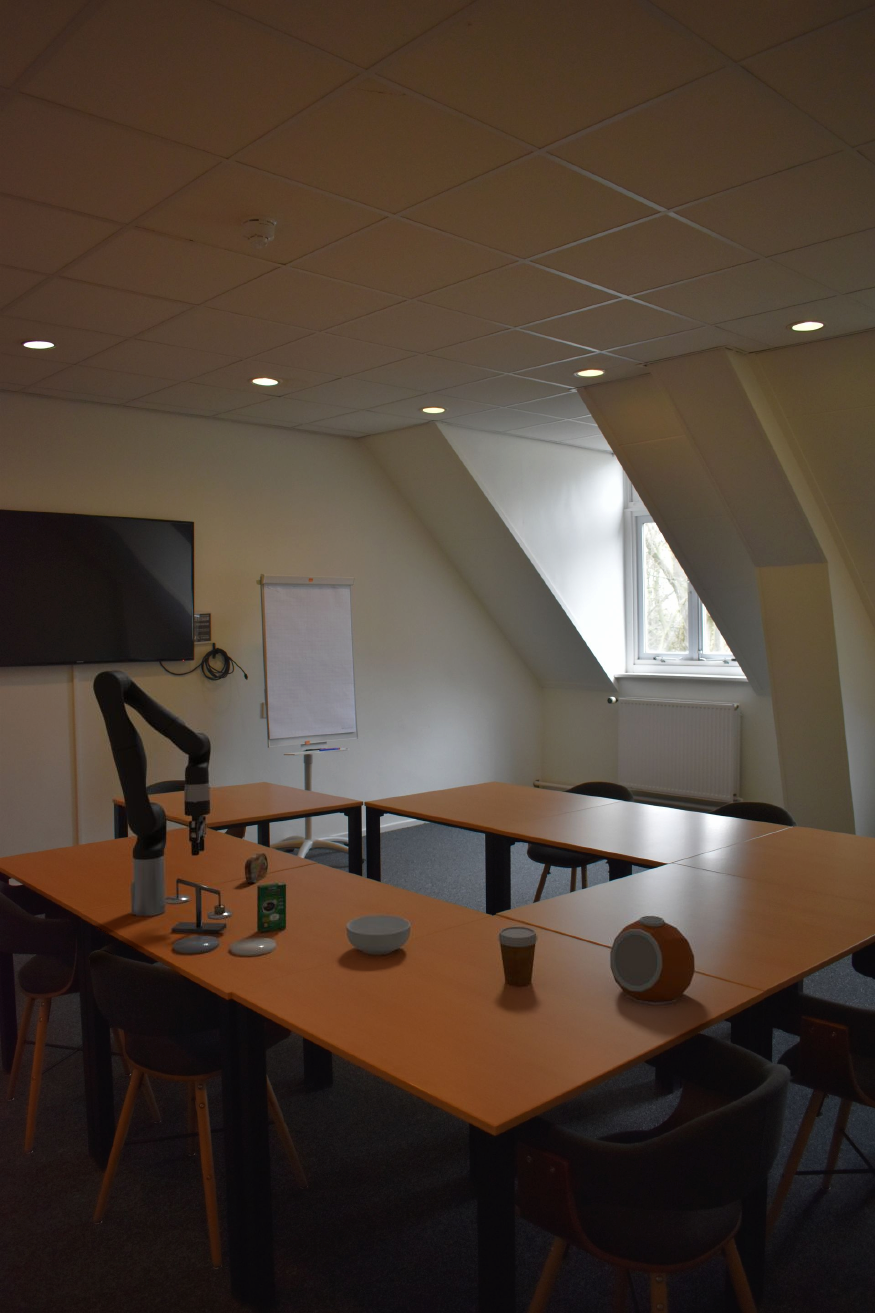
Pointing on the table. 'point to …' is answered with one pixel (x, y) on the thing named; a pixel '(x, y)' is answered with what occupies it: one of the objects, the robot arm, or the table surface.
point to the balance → (199, 911)
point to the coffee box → (271, 907)
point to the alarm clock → (652, 961)
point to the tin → (256, 868)
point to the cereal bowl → (378, 933)
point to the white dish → (253, 946)
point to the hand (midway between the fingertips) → (198, 853)
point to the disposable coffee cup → (517, 954)
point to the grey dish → (196, 945)
